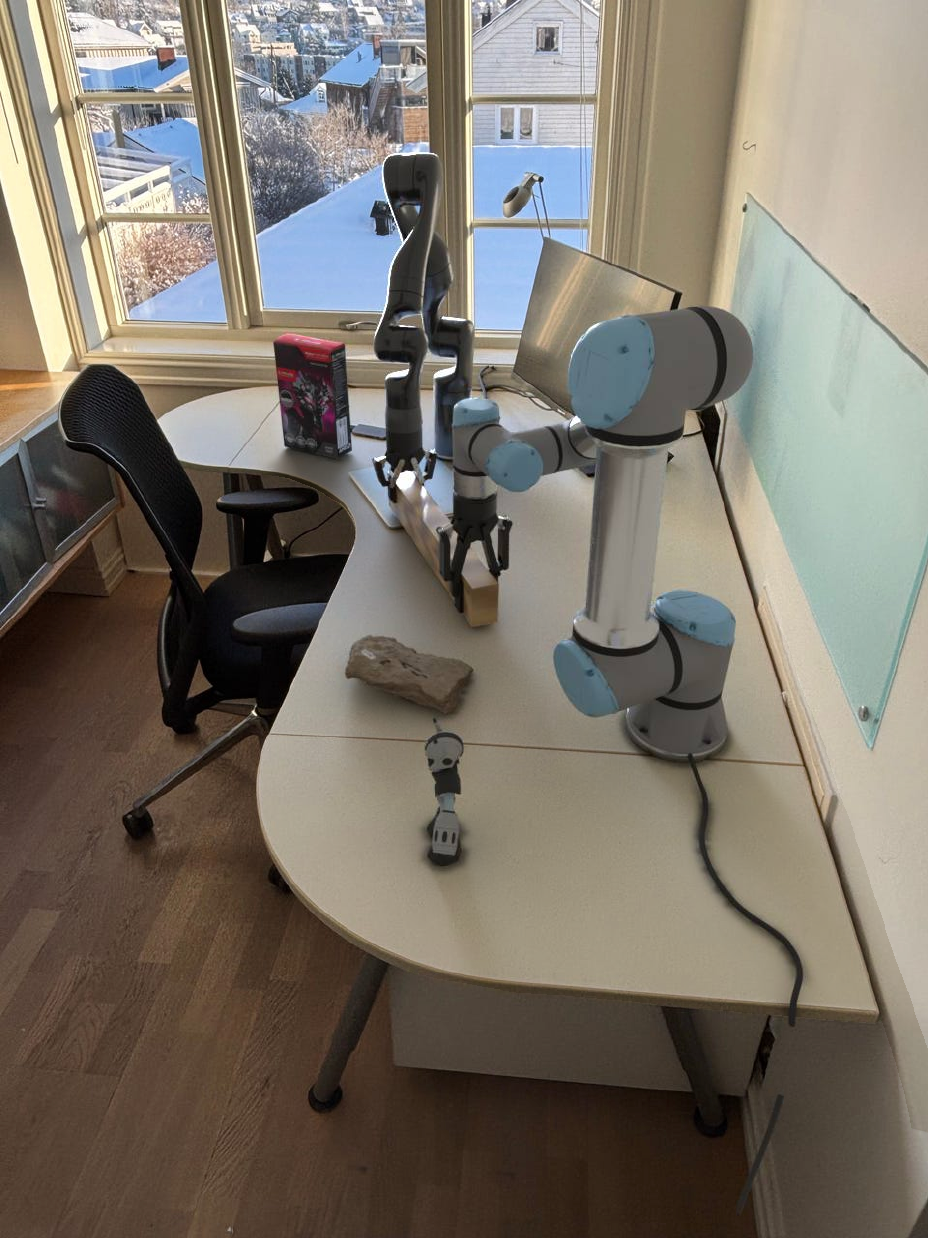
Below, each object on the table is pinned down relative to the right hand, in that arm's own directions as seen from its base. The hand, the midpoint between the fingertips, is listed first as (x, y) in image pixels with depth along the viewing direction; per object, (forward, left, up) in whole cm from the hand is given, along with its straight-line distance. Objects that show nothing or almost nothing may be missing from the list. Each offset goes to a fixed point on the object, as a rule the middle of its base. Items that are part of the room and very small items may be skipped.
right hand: (473, 606), depth 168 cm
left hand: (+32, +24, +3) cm, 40 cm away
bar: (+16, +12, -1) cm, 20 cm away
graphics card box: (+62, +57, -2) cm, 84 cm away
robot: (-54, -10, -2) cm, 55 cm away
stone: (-23, +6, -2) cm, 24 cm away
